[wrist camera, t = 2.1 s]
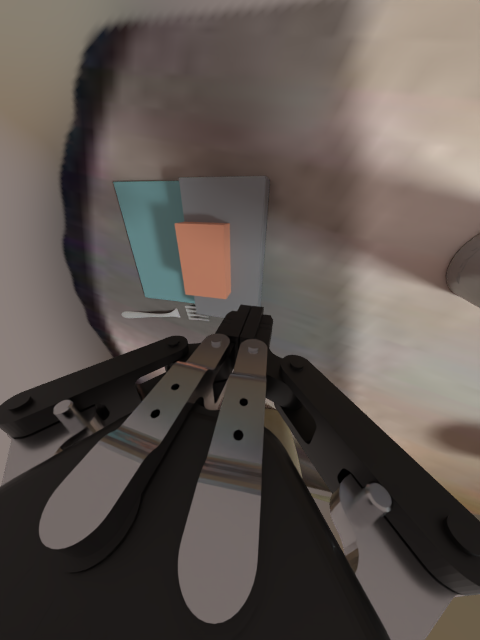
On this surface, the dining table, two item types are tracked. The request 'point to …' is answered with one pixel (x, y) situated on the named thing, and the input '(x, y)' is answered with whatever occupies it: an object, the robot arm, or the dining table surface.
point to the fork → (173, 313)
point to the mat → (155, 235)
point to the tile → (205, 258)
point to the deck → (232, 232)
